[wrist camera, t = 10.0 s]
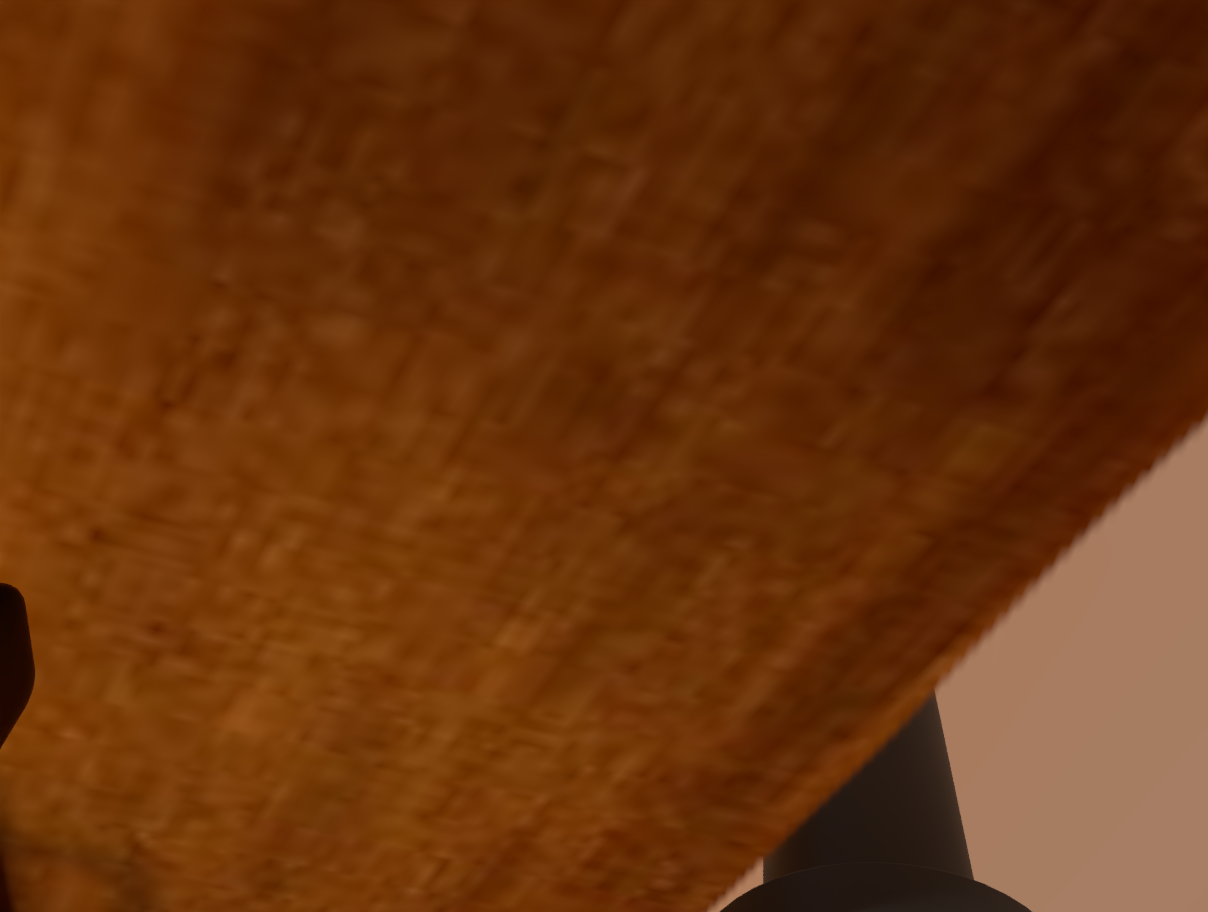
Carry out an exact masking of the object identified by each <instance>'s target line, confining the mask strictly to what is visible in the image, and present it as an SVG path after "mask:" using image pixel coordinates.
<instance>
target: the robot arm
mask: <svg viewBox="0 0 1208 912" xmlns="http://www.w3.org/2000/svg"><path fill="white" fill-rule="evenodd" d="M34 679H35V666H34V659H33V653H32V646H31V639H30V632H29V626H28V619H27V612H26V605H25V601H24V598H23V596H22V595H21V593H20V592H19V590H18V589H17V588H15V587H13V586H11V585H9V584H5V583H0V748H1V747H2V745H3V743H4V742H5V740H6V738H7V737H8V735H9V733H10V732H11V730H12V728H13V727H14V725H15V723H16V722H17V720H18V719H19V717H20V715H21V714H22V712H23V710H24V709H25V707H26V705H27V703H28V701H29V698H30V696H31V693H32V690H33V686H34Z"/></svg>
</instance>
